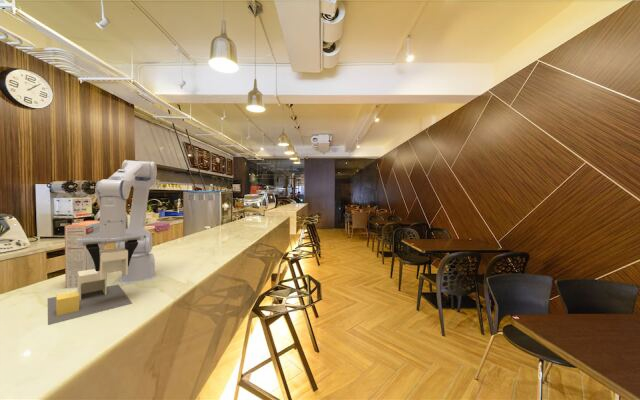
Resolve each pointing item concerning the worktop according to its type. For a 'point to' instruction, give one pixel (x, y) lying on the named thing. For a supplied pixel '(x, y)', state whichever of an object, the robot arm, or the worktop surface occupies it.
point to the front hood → (113, 261)
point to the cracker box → (79, 250)
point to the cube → (67, 303)
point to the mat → (90, 304)
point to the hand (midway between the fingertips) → (112, 268)
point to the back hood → (91, 282)
